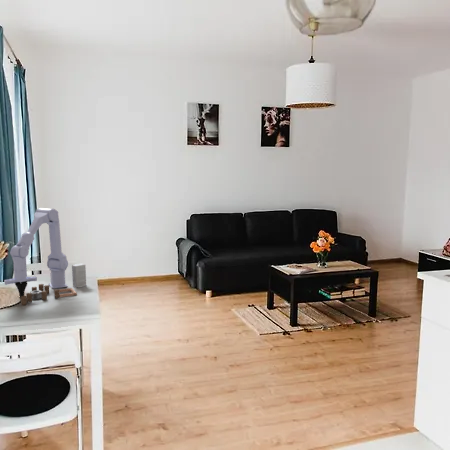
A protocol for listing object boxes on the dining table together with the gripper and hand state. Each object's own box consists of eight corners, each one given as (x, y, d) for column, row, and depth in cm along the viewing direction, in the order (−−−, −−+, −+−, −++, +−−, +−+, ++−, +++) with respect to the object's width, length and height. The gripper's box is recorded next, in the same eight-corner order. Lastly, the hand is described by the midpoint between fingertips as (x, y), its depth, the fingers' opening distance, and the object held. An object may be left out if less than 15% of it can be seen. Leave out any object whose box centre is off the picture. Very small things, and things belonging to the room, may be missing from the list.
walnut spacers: (15, 294, 242) (15, 287, 241) (53, 289, 251) (53, 282, 251) (21, 305, 224) (21, 297, 224) (61, 300, 234) (61, 292, 233)
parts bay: (54, 292, 247) (54, 290, 247) (71, 290, 251) (71, 287, 251) (59, 297, 238) (59, 295, 238) (76, 295, 242) (76, 292, 242)
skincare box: (82, 284, 262) (81, 263, 261) (86, 285, 259) (85, 264, 258) (72, 286, 258) (71, 264, 257) (76, 288, 255) (75, 266, 254)
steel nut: (29, 296, 239) (29, 291, 238) (40, 295, 241) (40, 289, 241) (31, 299, 234) (31, 293, 233) (42, 298, 236) (42, 292, 236)
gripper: (4, 273, 225) (6, 301, 227) (37, 269, 232) (38, 296, 234) (3, 270, 231) (4, 297, 233) (34, 266, 238) (36, 293, 240)
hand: (21, 296), depth 234 cm, fingers closed
